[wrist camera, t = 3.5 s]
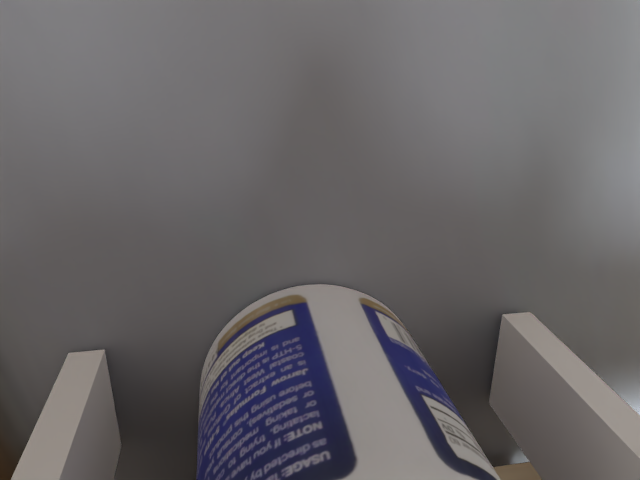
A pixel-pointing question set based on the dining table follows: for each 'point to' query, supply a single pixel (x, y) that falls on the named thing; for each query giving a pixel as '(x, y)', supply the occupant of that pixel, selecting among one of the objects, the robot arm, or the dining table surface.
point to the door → (517, 472)
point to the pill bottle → (327, 396)
